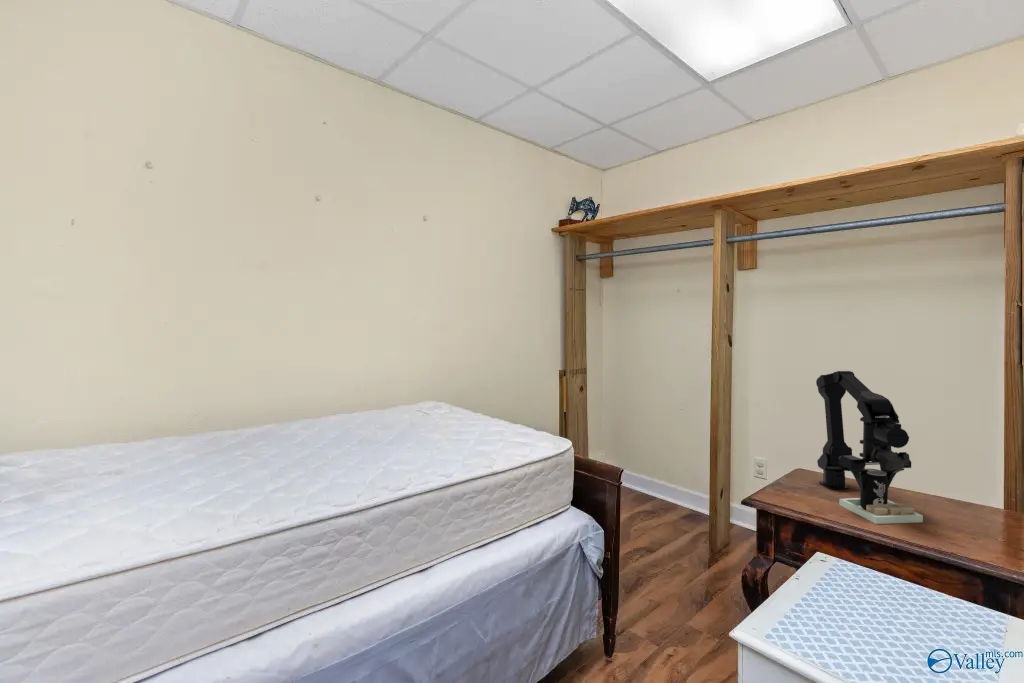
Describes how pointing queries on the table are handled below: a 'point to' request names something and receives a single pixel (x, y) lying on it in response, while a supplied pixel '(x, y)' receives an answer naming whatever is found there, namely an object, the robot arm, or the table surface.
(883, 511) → the maple cube
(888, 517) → the tray
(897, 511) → the maple cube
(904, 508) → the maple cube
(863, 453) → the robot arm
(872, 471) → the beverage can
